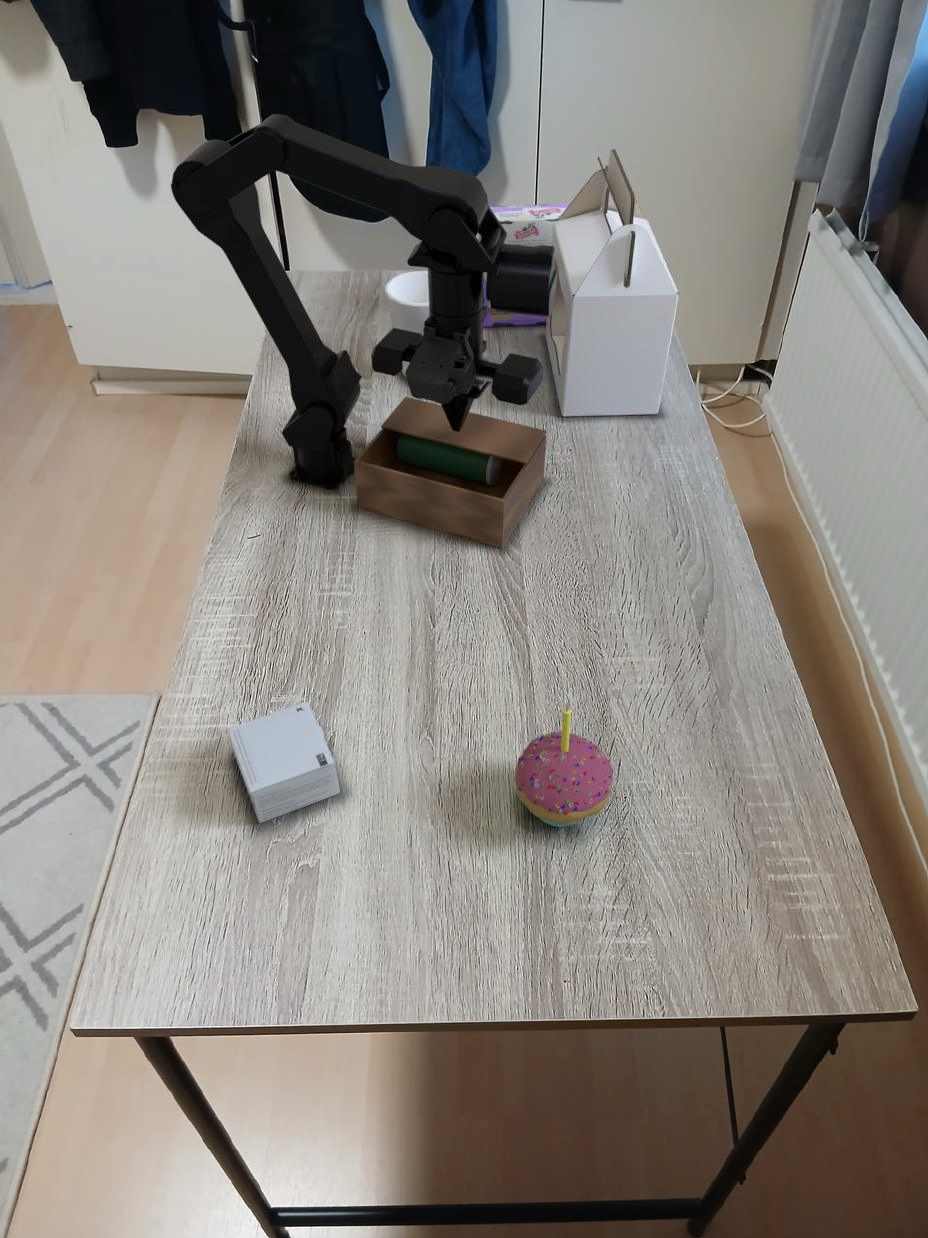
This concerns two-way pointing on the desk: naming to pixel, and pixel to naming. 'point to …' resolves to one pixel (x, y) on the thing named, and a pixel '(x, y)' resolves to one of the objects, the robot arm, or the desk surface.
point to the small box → (284, 761)
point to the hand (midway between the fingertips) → (457, 429)
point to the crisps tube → (449, 459)
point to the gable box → (609, 302)
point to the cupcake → (563, 777)
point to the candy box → (528, 230)
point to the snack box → (446, 493)
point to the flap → (465, 431)
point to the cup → (408, 302)
